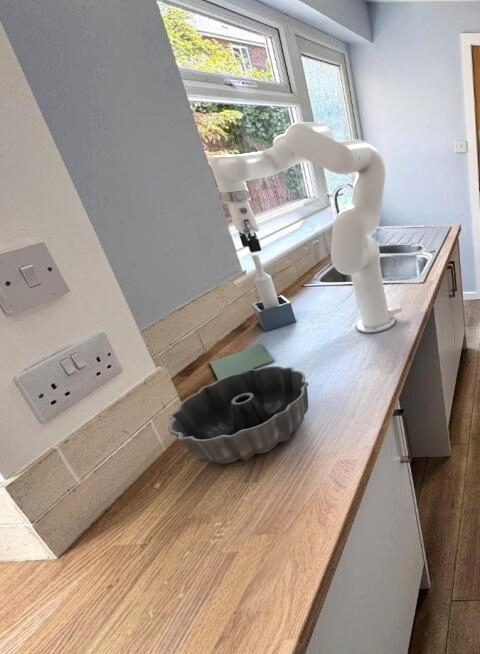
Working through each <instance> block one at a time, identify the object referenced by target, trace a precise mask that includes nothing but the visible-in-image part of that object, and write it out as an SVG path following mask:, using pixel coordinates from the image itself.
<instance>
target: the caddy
mask: <svg viewBox="0 0 480 654" xmlns="http://www.w3.org/2000/svg"><path fill="white" fill-rule="evenodd" d="M277 298H278V302H279V305H278V306H275V307H271V308H268V309H265V308H264V305H263V303H262V300H260V301H257V302H254V303H251V307H252V309H253V312H254V316H255V318H256V321H257V323H258V325H260V327H261V328H262V329H263V330H264V331H265V332H269V331H271V330H275V329H279V328H281V327H284V326H286V325H289V324H293V323H296V322H297V320H296V315H295V313H294V310H293V306H292V303H291V301H290V300H288V298H286V297H285V296H283V295H277Z"/></svg>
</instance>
